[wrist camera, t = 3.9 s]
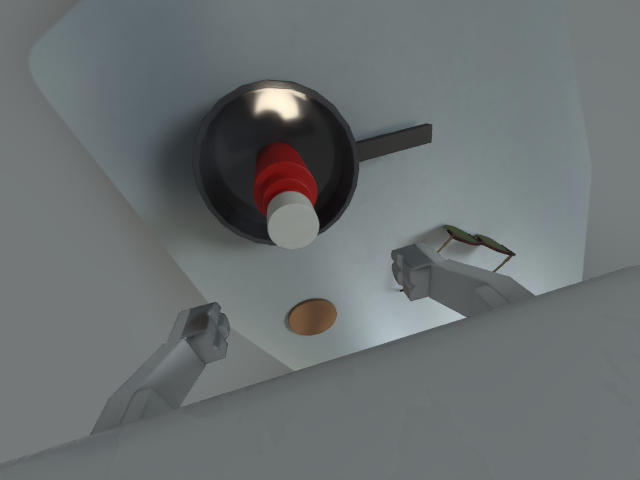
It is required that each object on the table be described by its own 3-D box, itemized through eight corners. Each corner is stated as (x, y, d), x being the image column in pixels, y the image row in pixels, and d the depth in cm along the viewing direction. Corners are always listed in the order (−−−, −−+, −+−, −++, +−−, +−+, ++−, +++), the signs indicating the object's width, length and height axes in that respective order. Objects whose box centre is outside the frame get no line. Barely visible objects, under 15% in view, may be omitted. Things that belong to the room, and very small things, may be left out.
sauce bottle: (264, 193, 31) (266, 272, 17) (248, 148, 28) (235, 200, 14) (306, 182, 31) (341, 250, 18) (295, 136, 28) (326, 175, 15)
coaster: (295, 338, 47) (295, 341, 47) (282, 307, 42) (282, 309, 42) (339, 324, 48) (340, 327, 47) (331, 292, 43) (332, 294, 42)
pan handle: (352, 160, 29) (355, 162, 28) (350, 143, 28) (353, 144, 27) (425, 140, 30) (431, 142, 29) (426, 123, 28) (432, 124, 27)
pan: (237, 240, 34) (234, 261, 30) (174, 104, 25) (155, 106, 21) (353, 208, 35) (366, 223, 31) (333, 66, 26) (347, 60, 22)
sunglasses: (495, 238, 44) (518, 255, 40) (446, 294, 51) (461, 313, 47) (436, 220, 39) (455, 238, 35) (390, 285, 47) (402, 305, 43)
